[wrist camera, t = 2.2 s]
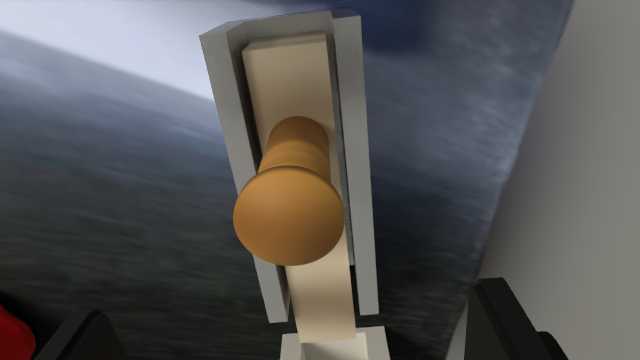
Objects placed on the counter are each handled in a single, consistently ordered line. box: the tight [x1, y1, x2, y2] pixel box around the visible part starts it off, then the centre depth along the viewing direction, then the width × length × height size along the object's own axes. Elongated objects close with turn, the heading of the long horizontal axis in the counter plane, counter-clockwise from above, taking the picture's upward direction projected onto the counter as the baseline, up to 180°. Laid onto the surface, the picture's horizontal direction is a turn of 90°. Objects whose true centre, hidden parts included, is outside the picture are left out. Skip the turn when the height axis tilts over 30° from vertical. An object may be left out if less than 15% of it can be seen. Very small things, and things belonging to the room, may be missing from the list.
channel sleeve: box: [199, 7, 379, 323], centre depth 24 cm, size 18×7×6 cm, turn 7°
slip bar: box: [233, 31, 357, 343], centre depth 21 cm, size 20×4×11 cm, turn 7°
